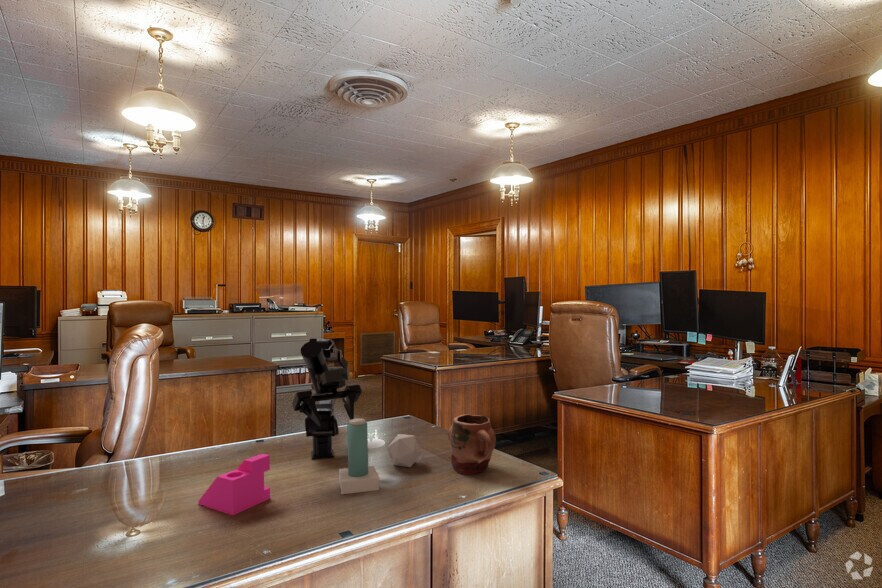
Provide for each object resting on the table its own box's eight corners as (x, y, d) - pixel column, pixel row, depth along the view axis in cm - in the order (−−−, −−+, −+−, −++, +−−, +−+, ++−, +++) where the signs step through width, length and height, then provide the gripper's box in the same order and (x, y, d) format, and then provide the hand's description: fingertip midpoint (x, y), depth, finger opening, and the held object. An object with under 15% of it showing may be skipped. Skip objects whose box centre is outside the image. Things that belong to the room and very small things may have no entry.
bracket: (270, 498, 119) (269, 455, 119) (233, 515, 110) (232, 468, 110) (236, 489, 125) (235, 448, 125) (198, 505, 116) (197, 460, 116)
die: (426, 464, 143) (414, 431, 148) (422, 457, 135) (410, 423, 140) (398, 476, 142) (387, 443, 147) (393, 470, 135) (381, 435, 139)
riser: (339, 480, 129) (339, 469, 129) (374, 477, 132) (374, 465, 132) (341, 494, 121) (341, 481, 121) (379, 490, 123) (378, 477, 123)
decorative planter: (514, 477, 130) (513, 423, 130) (474, 486, 124) (473, 430, 124) (472, 456, 148) (472, 408, 148) (436, 463, 142) (435, 414, 142)
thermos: (344, 473, 126) (343, 420, 126) (361, 468, 130) (360, 416, 130) (355, 478, 123) (353, 424, 123) (372, 473, 126) (371, 420, 126)
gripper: (295, 361, 134) (311, 410, 125) (359, 355, 145) (377, 400, 136) (286, 386, 141) (300, 434, 132) (347, 379, 151) (364, 423, 142)
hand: (337, 422), depth 135 cm, fingers open, 9 cm apart
